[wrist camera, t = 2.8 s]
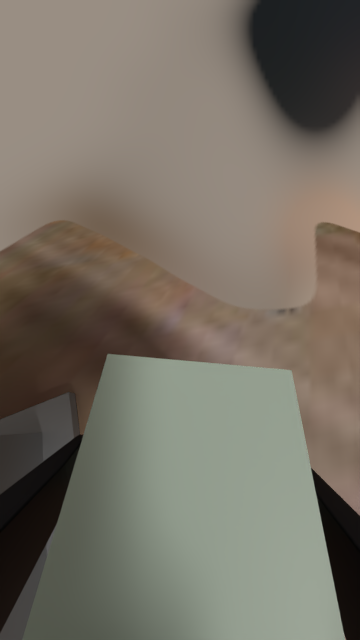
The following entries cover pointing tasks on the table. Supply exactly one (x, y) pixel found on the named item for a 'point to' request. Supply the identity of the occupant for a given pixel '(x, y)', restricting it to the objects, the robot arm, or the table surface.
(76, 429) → the grey square socket base
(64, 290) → the table surface
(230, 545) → the sage block
